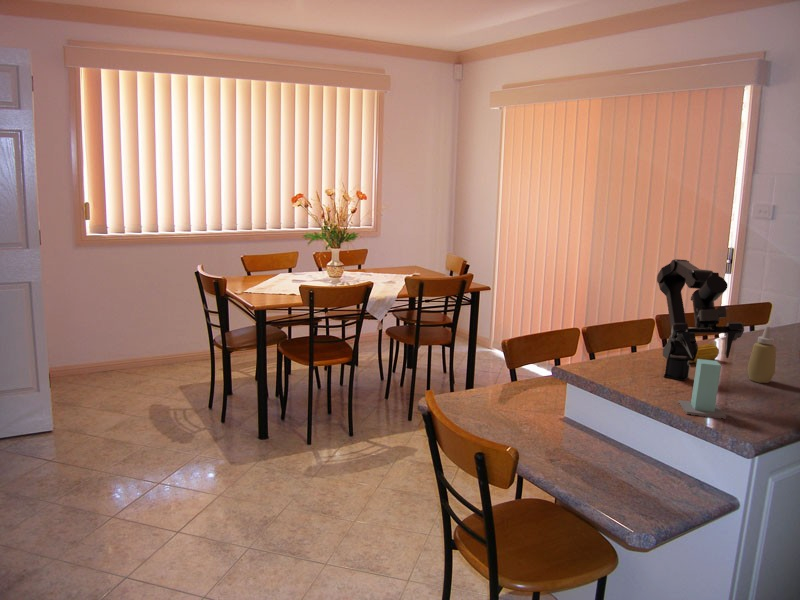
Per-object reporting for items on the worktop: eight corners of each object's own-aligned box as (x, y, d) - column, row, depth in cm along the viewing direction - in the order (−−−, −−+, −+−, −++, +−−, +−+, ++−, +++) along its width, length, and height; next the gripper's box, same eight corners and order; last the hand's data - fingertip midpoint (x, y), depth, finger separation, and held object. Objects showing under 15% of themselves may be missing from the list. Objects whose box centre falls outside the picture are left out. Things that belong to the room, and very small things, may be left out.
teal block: (690, 403, 186) (697, 358, 184) (709, 406, 185) (716, 360, 183) (694, 409, 182) (701, 363, 179) (714, 412, 181) (721, 365, 178)
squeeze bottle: (770, 379, 220) (779, 326, 217) (775, 386, 212) (784, 331, 209) (743, 375, 223) (752, 323, 219) (747, 382, 215) (756, 327, 212)
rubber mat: (678, 402, 189) (678, 400, 189) (715, 407, 188) (716, 404, 187) (686, 414, 180) (686, 411, 179) (726, 419, 178) (726, 416, 178)
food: (706, 357, 246) (708, 341, 245) (720, 361, 241) (722, 345, 240) (669, 362, 235) (671, 346, 234) (683, 367, 230) (686, 350, 229)
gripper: (673, 297, 192) (678, 347, 186) (744, 295, 188) (752, 346, 181) (669, 313, 202) (673, 361, 195) (736, 312, 197) (743, 361, 190)
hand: (709, 357), depth 190 cm, fingers open, 9 cm apart
